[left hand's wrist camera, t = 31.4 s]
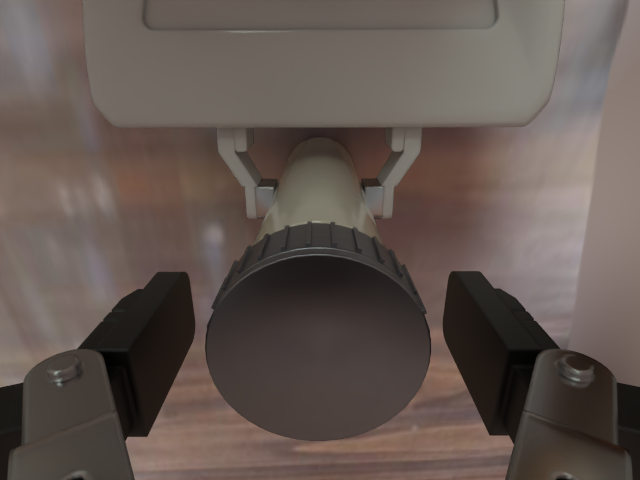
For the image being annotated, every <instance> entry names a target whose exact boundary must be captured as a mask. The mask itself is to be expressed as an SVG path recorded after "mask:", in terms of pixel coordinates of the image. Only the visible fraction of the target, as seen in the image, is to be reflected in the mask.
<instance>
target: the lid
mask: <svg viewBox="0 0 640 480" xmlns="http://www.w3.org/2000/svg"><path fill="white" fill-rule="evenodd" d="M212 309H214V311H213V314H212V316H211V318H210V320H209V322H208V325H207V333H206V344H205V351H206V360H207V364H208V368H209V372H210V375H211V377H212V379H213V382H214V384H215V386H216V387H217V389H218V391H219V392H220V394H221V395H222V397H223V398H224V399H225V400H226V401H227V403H228V404H229V405H230V406H231V407H232V408H233V409H234V410H235V411H236V412H237V413H239V414H240V415H241V416H243V417H244V418H245V419H247V420H248V421H250V422H252V423H253V424H255V425H257V426H258V427H260V428H263V429H265V430H267V431H269V432H272V433H275V434H278V435H281V436H284V437H289V438H294V439H300V440H309V441H327V440H337V439H343V438H348V437H352V436H356V435H359V434H362V433H365V432H367V431H370V430H372V429H375V428H376V427H378V426H380V425H382V424H384V423H386V422H387V421H388V420H390V419H391V418H393V417H394V416H396V415H397V414H398V413H399V412H400V411H401V410H402V409H404V408H405V407H406V406H407V404H408V403H409V402H410V401H411V400H412V399H413V398H414V396H415V395H416V393H417V392H418V390H419V389H420V387H421V385H422V383H423V381H424V378H425V376H426V373H427V370H428V366H429V362H430V355H431V338H430V330H429V327H428V324H427V321H426V318H425V315H424V314H426V313H427V312H426V309H425V307H424V305H423V303H422V301H421V298H420V296H419V294H418V292H417V290H416V287H415V285H414V283H413V281H412V279H411V277H410V274H409V272H408V270H407V268H406V266H405V265H401V264H400V263H399V261H398V260H397V258H396V255H395V253H394V251H393V250H392V249H390V250H388V249H387V248H386V247H385V246H383V245H382V244H381V243H379V241H378V239H377V237H375V236H373V237H370V236H368V235H366V234H364V233H362V232H360V231H358V229H357V228H356V227H353V228H348V227H344V226H341V225H335V222H331V223H330V224H327V223H312V221H308V222H307V224H302V225H297V226H292V227H290V226H289V225H286V226H285V228H284V229H282V230H280V231H277V232H274V233H272V234H271V235H269V234H268V233H267V234H265V235H264V237H263V239H262V240H260V241H259V242H258V243H256V244H255V245H253V246H252V247H251V246H250V245H249V246H248V247H247V248H246V251H245V253H244V255H243V256H242V257H241V259H240V260H239V261H236V260H235V261H234V263H233V265H232V267H231V269H230V271H229V273H228V275H227V278H225V280H224V282H223V284H222V286H221V288H220V290H219V292H218V294H217V297H216V299H215V301H214V303H213V305H212Z"/></svg>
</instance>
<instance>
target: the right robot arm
mask: <svg viewBox="0 0 640 480" xmlns="http://www.w3.org/2000/svg"><path fill="white" fill-rule="evenodd" d="M564 6H565V0H82V9H83V32H84V44H85V56H86V65H87V73H88V80H89V88H90V93H91V98H92V101H93V104H94V106H95V107H96V108H97V109H98V110H99V112H100V113H101V114H102V115H103V116H104V117H105V118H106V119H107V120H108V121H109V122H110V123H111V124H112V125H113V126H115V127H117V128H216V133H217V144H218V153H219V154H220V156H221V157H222V159H223V160H224V161H225V163H226V164H227V166H228V167H229V169H230V170H231V172H232V173H233V174H234V176H235V177H236V179H237V180H238V182H239V183H240V185H241V186H242V187H245V199H246V212H247V217H248V219H264V218H265V215H266V213H267V210H268V208H269V205H270V203H271V200H272V198H273V195H274V193H275V190H276V188H277V185H278V180H277V179H262V176H261V175H260V173H259V172H258V170H257V168H256V167H255V165H254V163H253V162H252V160H251V159H250V157H249V155H248V154H247V152H246V151H247V150H248V149H249V148H250V147H251V146H252V144H253V143H254V135H253V128H362V127H386V130H385V143H386V144H387V145H388V146H389V148H390V149H391V150H393V151H392V153H391V155H390V156H389V158H388V160H387V161H386V163H385V165H384V166H383V168H382V169H381V171H380V173H379V174H378V176H377V178H371V179H361V185H362V188H363V190H364V193H365V196H366V198H367V201H368V204H369V206H370V209H371V211H372V214H373V217H374V219H391V218H392V213H393V198H394V187H395V186H397V185H398V184H399V183H400V181H401V180H402V178H403V177H404V175H405V174H406V172H407V171H408V169H409V168H410V167H411V165H412V164H413V162H414V161H415V159H416V158H417V156H418V155H419V153H420V150H421V139H422V128H423V127H524V126H526V125H528V124H529V123H530V122H531V121H532V120H533V119H534V118H535V117H536V116H537V115H538V114H539V113H540V112H541V110H542V109H543V108H544V107H545V106H546V105H547V103H548V101H549V99H550V96H551V93H552V89H553V85H554V80H555V74H556V69H557V63H558V57H559V50H560V43H561V35H562V26H563V17H564Z"/></svg>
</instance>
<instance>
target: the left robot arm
mask: <svg viewBox="0 0 640 480" xmlns="http://www.w3.org/2000/svg"><path fill="white" fill-rule="evenodd" d="M103 320H104V321H103V322H101V323H100V324H99V325H98V326H97V327H96V328H95V329H94V331H93V332H92V333H91V334H90V335H89V336H88V337H87V338H86V340H85V341H84V342H83V343H82V344H81V345H80V346H79V347H78V349H75V350H69V351H66V352H62V353H59V354H56V355H54V356H51V357H49V358H47V359H45V360H44V361H42V362H40V363H39V364H37V365H36V366H35V367H33V368H32V369H31V370H30V371H29V372H28V374H27V375H26V377H25V379H24V382H23V383H20V384H15V385H10V386H6V387H1V388H0V480H135V479H134V475H133V471H132V467H131V463H130V459H129V455H128V451H127V447H126V443H125V441H126V439H127V437H147V436H148V434H149V432H150V430H151V428H152V426H153V424H154V421H155V419H156V417H157V415H158V413H159V411H160V409H161V407H162V405H163V403H164V401H165V399H166V396H167V394H168V392H169V390H170V388H171V386H172V384H173V382H174V380H175V378H176V376H177V373H178V371H179V369H180V367H181V365H182V363H183V361H184V359H185V357H186V355H187V353H188V350H189V348H190V346H191V344H192V342H193V339H194V334H195V317H194V309H193V302H192V294H191V287H190V280H189V276H188V274H187V273H186V272H158V273H156V274H155V276H154V277H153V278H152V279H151V280H150V282H149V283H148V284H147V285H146V287H145V288H144V289H137V290H136V291H134V292H132V293H131V294H129V295H127V296H126V297H124V298H122V299H121V300H120V301H119V302H118V304H117V305H116V306H115V307H114V308H113V309H112V312H110V313H109V314H108V315H107V316H106V317H105V318H104V319H103ZM443 333H444V338H445V341H446V344H447V346H448V348H449V350H450V352H451V354H452V356H453V359H454V361H455V363H456V365H457V367H458V369H459V371H460V373H461V376H462V378H463V380H464V382H465V384H466V386H467V388H468V390H469V392H470V395H471V397H472V399H473V401H474V403H475V405H476V407H477V409H478V412H479V414H480V416H481V418H482V420H483V422H484V424H485V426H486V428H487V431H488V433H489V435H509V436H510V438H511V440H512V442H513V444H514V447H513V451H512V455H511V459H510V463H509V467H508V471H507V475H506V479H505V480H640V387H636V386H632V385H627V384H622V383H617V382H616V379H615V377H614V375H613V374H612V372H611V371H610V370H609V369H608V368H606V367H605V366H604V365H603V364H601V363H600V362H598V361H596V360H595V359H593V358H591V357H589V356H586V355H584V354H581V353H578V352H574V351H571V350H565V349H560V348H559V347H558V346H557V345H556V343H555V342H554V341H553V340H552V339H551V338H550V337H549V335H548V334H547V333H546V332H545V331H544V330H543V329H542V327H541V326H540V325H539V324H538V323H537V322H536V321H534V318H533V317H532V316H531V315H530V314H529V313H528V312H526V311H525V308H524V307H523V306H522V305H521V304H520V302H519V301H518V300H517V299H516V298H515V297H513V296H511V295H510V294H508V293H506V292H505V291H503V290H501V289H494V288H493V287H492V285H491V284H490V283H489V282H488V280H487V279H486V278H485V277H484V276H483V274H482V273H481V272H479V271H452V272H451V273H450V275H449V279H448V285H447V293H446V300H445V308H444V316H443Z"/></svg>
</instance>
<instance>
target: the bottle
mask: <svg viewBox="0 0 640 480" xmlns="http://www.w3.org/2000/svg"><path fill="white" fill-rule="evenodd" d="M308 221H312V223H327V224H330V223H331V222H335V225H341V226H344V227H348V228H353V227H356V228H357V229H358V231H360V232H362V233H364V234H366V235H368V236H370V237H373V236H375V237H377V239H378V241H379V243H381V244H382V245H383V246H384V243H383V240H382V238H381V235H380V232H379V230H378V227H377V225H376V222H375V219H374V217H373V214H372V211H371V209H370V206H369V204H368V201H367V198H366V196H365V193H364V190H363V188H362V185H361V183H360V180H359V177H358V175H357V172H356V169H355V167H354V164H353V162H352V159H351V156H350V155H349V153H348V151H347V150H346V149H345V148H344V147H343V146H342V145H341V144H340V143H338V142H337V141H335V140H332V139H330V138H325V137H314V138H310V139H307V140H305V141H303V142H301V143H300V144H299V145H297V146H296V147H295V148H294V149H293V151H292V152H291V154H290V156H289V158H288V160H287V163H286V165H285V168H284V170H283V173H282V175H281V178H280V180H279V183H278V185H277V188H276V190H275V193H274V195H273V198H272V200H271V203H270V205H269V208H268V210H267V213H266V215H265V218H264V220H263V223H262V225H261V227H260V230H259V232H258V235H257V237H256V240H255V242H254V245H255V244H256V243H258V242H259V241H260V240H262V239H263V237H264V235H265V234H267V233H268V234H269V235H271V234H272V233H274V232H277V231H280V230H282V229H284V228H285V226H286V225H289V226H290V227H292V226H297V225H302V224H307V222H308Z"/></svg>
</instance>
